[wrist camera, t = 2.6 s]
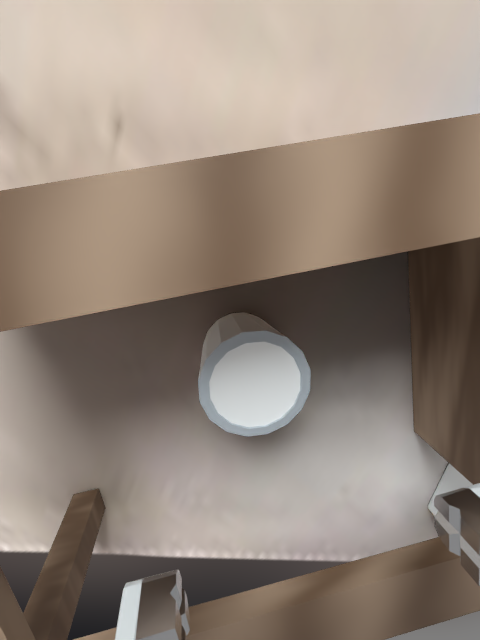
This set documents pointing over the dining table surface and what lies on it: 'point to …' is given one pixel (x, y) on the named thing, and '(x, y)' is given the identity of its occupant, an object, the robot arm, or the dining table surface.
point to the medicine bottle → (448, 485)
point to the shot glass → (251, 376)
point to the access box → (254, 265)
